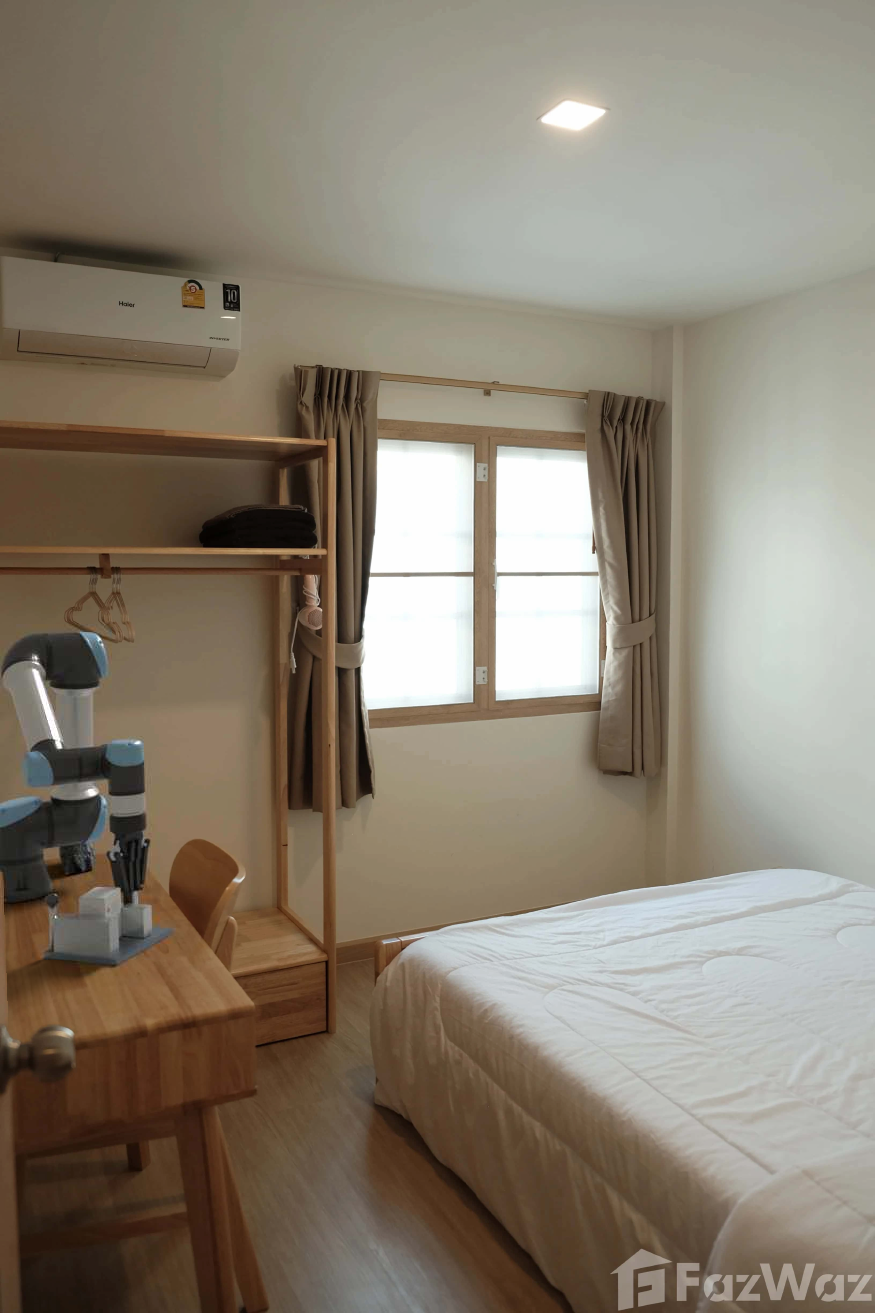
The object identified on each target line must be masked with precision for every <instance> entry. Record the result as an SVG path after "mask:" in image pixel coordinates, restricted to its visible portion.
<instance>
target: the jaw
mask: <svg viewBox="0 0 875 1313" xmlns="http://www.w3.org/2000/svg"><path fill="white" fill-rule="evenodd" d="M152 913H153V911H152V904H141V903H138V904H131V903H123V902H121V921H122V936H130V937H141V938H145V937H146V936H148V935H150V934H152V926H153V922H152V921H153V915H152Z"/></svg>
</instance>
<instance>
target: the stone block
mask: <svg viewBox="0 0 875 1313" xmlns="http://www.w3.org/2000/svg"><path fill="white" fill-rule="evenodd" d="M93 842H94V841H93ZM93 842H88V843H85V844H76V845H68V846H61V847H58V850H59V851H58V852H59V858H60V862H61V864H62V869H63V871H64V873H65V872H66V873H68V874H69V875H71V874H70V873H74V874H78V873H82V872H86V871H88V870H92V869H94V866H95V863H96V852H95V848H94V844H93Z"/></svg>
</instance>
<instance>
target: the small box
mask: <svg viewBox="0 0 875 1313" xmlns="http://www.w3.org/2000/svg"><path fill="white" fill-rule="evenodd" d="M121 894H122V893H121V891H120V888H118V887H115V886H113V887H112V886H109V887H108V886H95V887H94V888H92V889H91V890H89V891H87V892H86V893H84V894H83V895H81V896H79V897H78V911H79V912H78V915H90V916H101V917H113V918H118V930H119V938H120V937H121V936H122V921H121V903H122V898H121V896H122V895H121Z"/></svg>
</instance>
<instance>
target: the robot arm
mask: <svg viewBox="0 0 875 1313" xmlns="http://www.w3.org/2000/svg"><path fill="white" fill-rule="evenodd" d="M108 668H109V667H108V658H107V652H106V648H105V644H104V642H103V640H102V638H101V637H100V636H99V635H98V634H97V633H96V632H90V631H89V632H88V631H67V632H63V631H62V632H46V633H45V632H34V633H31V634H27V635H23V636H22V637H20V638H18V639H17V640H16V641H15V642H13V643H12V645H10V647H9V648H8V649H7V650H6V652H5V654H4V656H3V658H2V659H1V665H0V677H1V682H2V684H3V687H4V689H6V690H7V691H9V692H10V695H11V698H12V702H13V704H14V708H15V711H16V715H17V718H18V722H19V726H20V728H21V732H22V735H23V738H24V741H25V745H26V748H27V752H26V753H25V754H23V756H22V760H21V772H22V779H23V782H24V784H25V785H26V786H27V787H29V788H43V787H44V788H46V787H47V788H49V787H52V786H53V787H54V786H55V788H53V789H52V790H51V791H50V798H49V799H50V800H47V801H43V799H42V797H40V796H37V795H36V796H35V795H32V796H28V797H27V796H24V797H19V798H14V799H10V800H6V801H3V802H1V803H0V871H1V872H2V873H3V881H4V903H6V904H8V903H19V902H26V900H28V901H31V900H30V899H33V898H37V899H39V898H38V897H41V896H43V897H45V896H44V895H46V896H47V894H48V895H49V893H50V892H51V893H53V881H52V878H51V877H50V874H49V871H48V868H47V866H46V863H45V857H44V850H46V849H52V848H59V847H61V846H68V845H76V844H85V843H88V842H96V841H99V840H100V839H101V838H102V837H103V835H104V833H105V832H106V828H107V827H106V826H107V821H108V812H109V813H110V815H109V831H110V833H111V834H113V835H114V841H113V848H112V849H111V850H108V851H107V852H106V858H107V859H108V861H109V864H110V869H111V874H112V879H113V884H114V887H118V888H120V891H121V894H122V903H131V904H140V903H139V902H140V896H139V891H143V890H144V885H145V883H146V877H147V876H146V874H147V865H148V856H149V855H148V854H149V848H150V845H151V839H150V838H145V837H144V831H145V830H147V813H146V812H145V810H146V809H147V800H146V799H147V798H146V780H145V776H146V774H145V773H146V772H145V758H146V755H145V751H144V744H143V742H142V741H141V740H139V739H132V738H131V739H129V738H127V739H117V740H112V741H109V742H108V743H102V744H101V743H100V744H99V745H96V746H94V693H95V692H96V690H98V689H99V688H100V679H105V678H106V677H107V675H108V670H109V669H108ZM46 681H47V682H49V688H50V689H51V690H52V691H53V692H54V693H55V694H56V695H55V696H56V698H55V700H56V715H55V711H54V708H53V705H52V702H51V699H50V696H49V693H48V690H47V687H46V684H45V682H46ZM99 781H107V787H108V788H107V790H108V804H107V801H106V798H105V797H104V796H103V795H101V794H100V790H99V788H98V787H96V786H95V785H94V782H99ZM107 805H108V806H107ZM107 807H108V809H107ZM51 893H50V894H51ZM41 898H42V897H41ZM5 899H6V901H5ZM33 900H34V899H33ZM4 903H3V904H4Z"/></svg>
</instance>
